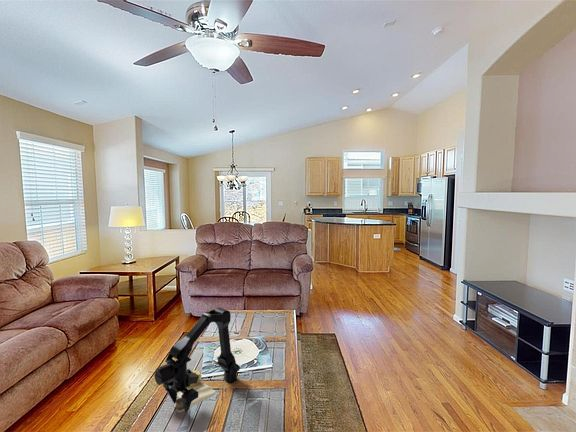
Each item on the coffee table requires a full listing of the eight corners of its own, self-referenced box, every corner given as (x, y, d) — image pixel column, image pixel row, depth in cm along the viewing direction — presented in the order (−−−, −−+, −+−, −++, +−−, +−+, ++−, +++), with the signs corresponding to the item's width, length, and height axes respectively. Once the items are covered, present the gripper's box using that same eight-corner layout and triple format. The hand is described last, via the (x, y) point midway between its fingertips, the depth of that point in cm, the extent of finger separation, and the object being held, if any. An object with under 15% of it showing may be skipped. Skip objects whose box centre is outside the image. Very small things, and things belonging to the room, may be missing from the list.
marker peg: (186, 411, 138) (186, 400, 138) (178, 415, 136) (178, 404, 135) (182, 407, 141) (182, 396, 141) (174, 411, 138) (174, 400, 138)
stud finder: (200, 382, 158) (200, 373, 158) (187, 388, 153) (187, 378, 153) (196, 378, 161) (196, 369, 161) (183, 383, 157) (183, 374, 156)
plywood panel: (216, 394, 150) (216, 393, 150) (189, 409, 140) (189, 407, 140) (195, 376, 164) (195, 375, 164) (169, 388, 154) (169, 387, 154)
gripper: (208, 373, 137) (209, 406, 139) (183, 358, 149) (184, 389, 150) (186, 385, 129) (187, 421, 130) (162, 368, 140) (163, 401, 142)
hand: (180, 407), depth 138 cm, fingers open, 9 cm apart
